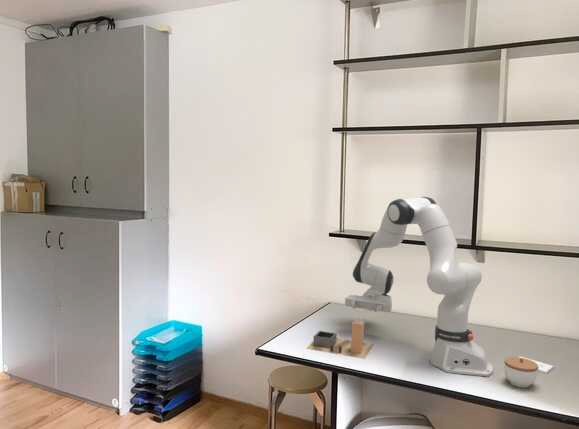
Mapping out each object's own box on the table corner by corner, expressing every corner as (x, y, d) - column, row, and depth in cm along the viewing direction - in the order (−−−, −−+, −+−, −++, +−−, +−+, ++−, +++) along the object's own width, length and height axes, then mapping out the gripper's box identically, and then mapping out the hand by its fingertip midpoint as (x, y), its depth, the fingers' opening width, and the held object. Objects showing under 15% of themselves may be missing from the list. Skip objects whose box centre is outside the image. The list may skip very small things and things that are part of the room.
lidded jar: (540, 384, 170) (542, 358, 170) (530, 393, 163) (533, 366, 162) (509, 374, 178) (511, 350, 177) (498, 383, 170) (500, 357, 169)
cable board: (373, 346, 202) (374, 338, 202) (364, 361, 186) (364, 352, 186) (319, 337, 211) (319, 330, 211) (305, 350, 195) (306, 342, 195)
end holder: (336, 342, 203) (336, 333, 202) (331, 348, 196) (331, 339, 195) (319, 339, 205) (319, 330, 205) (313, 345, 198) (313, 336, 198)
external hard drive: (520, 359, 194) (553, 369, 185) (512, 365, 188) (546, 375, 179) (520, 355, 194) (554, 365, 185) (512, 361, 188) (546, 371, 179)
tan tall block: (362, 350, 195) (364, 316, 193) (360, 354, 191) (362, 319, 190) (353, 349, 196) (354, 315, 195) (350, 352, 192) (352, 318, 191)
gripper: (349, 290, 220) (341, 297, 207) (394, 296, 213) (389, 304, 200) (348, 303, 221) (340, 311, 208) (393, 310, 213) (388, 319, 200)
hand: (364, 308), depth 204 cm, fingers open, 8 cm apart
